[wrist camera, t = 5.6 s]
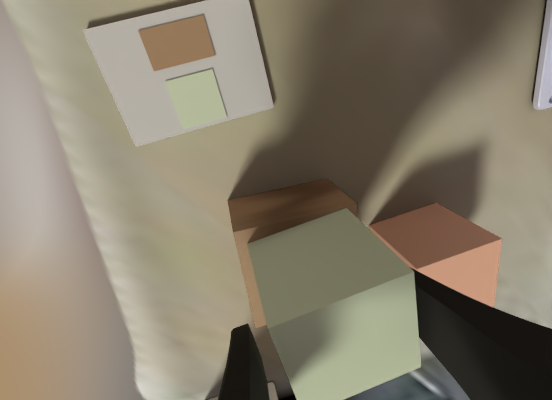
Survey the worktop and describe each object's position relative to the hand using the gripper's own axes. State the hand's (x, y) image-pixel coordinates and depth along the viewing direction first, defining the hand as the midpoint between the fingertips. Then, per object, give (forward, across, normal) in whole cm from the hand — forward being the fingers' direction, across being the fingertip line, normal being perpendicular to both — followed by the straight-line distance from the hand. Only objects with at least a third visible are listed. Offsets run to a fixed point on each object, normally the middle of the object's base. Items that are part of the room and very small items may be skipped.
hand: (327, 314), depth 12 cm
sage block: (+3, 0, 0) cm, 3 cm away
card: (+7, +2, -10) cm, 12 cm away
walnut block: (+7, 0, 0) cm, 7 cm away
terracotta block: (+7, -8, +4) cm, 11 cm away
